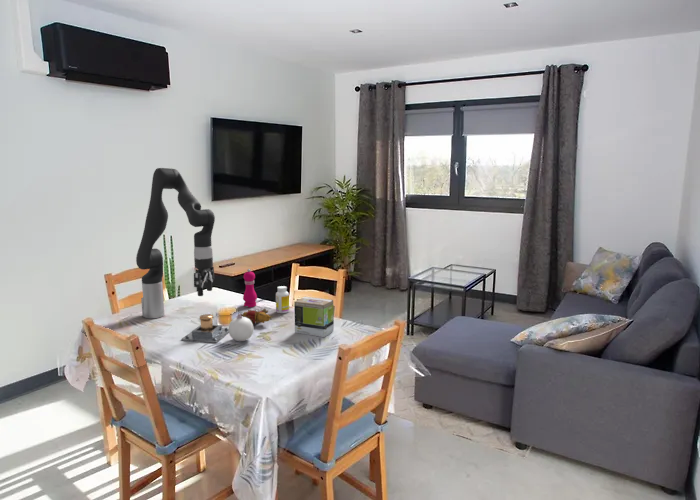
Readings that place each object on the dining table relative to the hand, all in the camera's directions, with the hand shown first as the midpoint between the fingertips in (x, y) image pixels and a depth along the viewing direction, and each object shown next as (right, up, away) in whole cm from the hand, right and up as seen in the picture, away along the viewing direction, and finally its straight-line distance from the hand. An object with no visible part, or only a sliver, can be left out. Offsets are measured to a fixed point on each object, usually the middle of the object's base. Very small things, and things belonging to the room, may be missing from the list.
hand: (205, 293), depth 214 cm
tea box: (+47, -18, +8) cm, 51 cm away
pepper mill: (+10, -11, +48) cm, 50 cm away
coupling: (0, -19, +3) cm, 19 cm away
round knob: (0, -18, +3) cm, 18 cm away
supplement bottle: (+28, -13, +38) cm, 49 cm away
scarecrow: (+18, -16, +20) cm, 31 cm away
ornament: (+16, -20, -2) cm, 26 cm away
